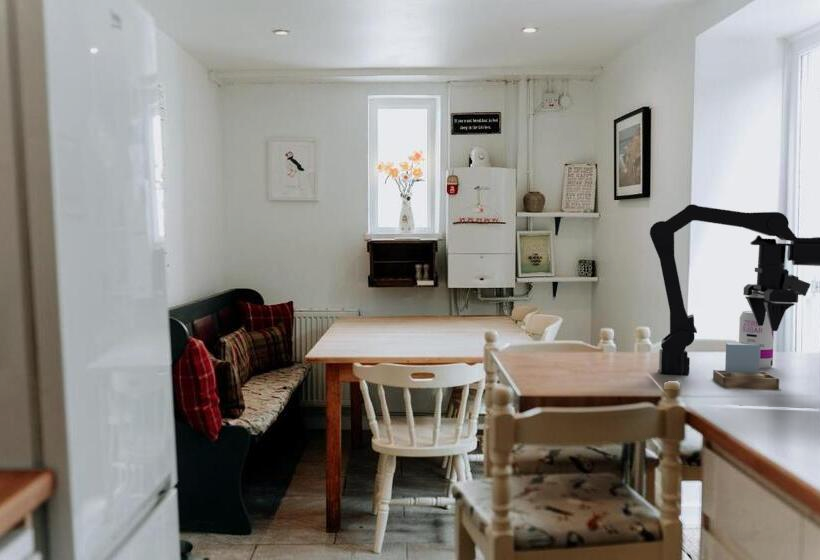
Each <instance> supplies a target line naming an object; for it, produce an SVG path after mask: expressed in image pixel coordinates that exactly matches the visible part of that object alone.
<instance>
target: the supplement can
mask: <svg viewBox="0 0 820 560" xmlns="http://www.w3.org/2000/svg"><path fill="white" fill-rule="evenodd" d="M738 332H739V333H738V344H758V345H760V360H759V369H769V368H772V367H773V366H774V364H773V363H774V335H775V334H774V333H775V331H772V329H771V326H770V323H769V319H768V316H767V312H766V315H765V320H764V323H763V326H758V324H757V322H756V320H755V317H754V315H753V312H752V310H743V311H742V313H741V314H740V316H739V331H738Z"/></svg>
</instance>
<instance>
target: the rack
mask: <svg viewBox="0 0 820 560" xmlns="http://www.w3.org/2000/svg"><path fill="white" fill-rule="evenodd" d="M712 372H713V373H712V378H711V379H712V380H713V381H715V382H716V383H717V384H718V385H720V386H721V387H722V388H724V389H730V390H731V389H732V390H733V389H736V390H763V391H765V390H766V391H782V389H780V378H778V377H776V376H775V375H773V374H772V373H770V372H768V371H763V370H761V371H760V370H759V373H760V374H762V375H764V376H765V378H747V377H730V376H731V373H725V369H724V370H722V369H721V370H719V369H713V371H712Z"/></svg>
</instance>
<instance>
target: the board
mask: <svg viewBox="0 0 820 560" xmlns="http://www.w3.org/2000/svg"><path fill="white" fill-rule="evenodd" d="M759 360H760V345H758V344H739V343H735V342H734V343H733V342H732V343H730V342H729V343H727V342H726V343H725V365H724V366H725V368H724V370H725V373H731V372H742V373H759V371H760V368H759Z"/></svg>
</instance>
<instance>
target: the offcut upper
mask: <svg viewBox="0 0 820 560" xmlns="http://www.w3.org/2000/svg"><path fill="white" fill-rule="evenodd" d="M730 377H747V378H765V376H764V375H762V374H760V373H742V372H731V376H730Z"/></svg>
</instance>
